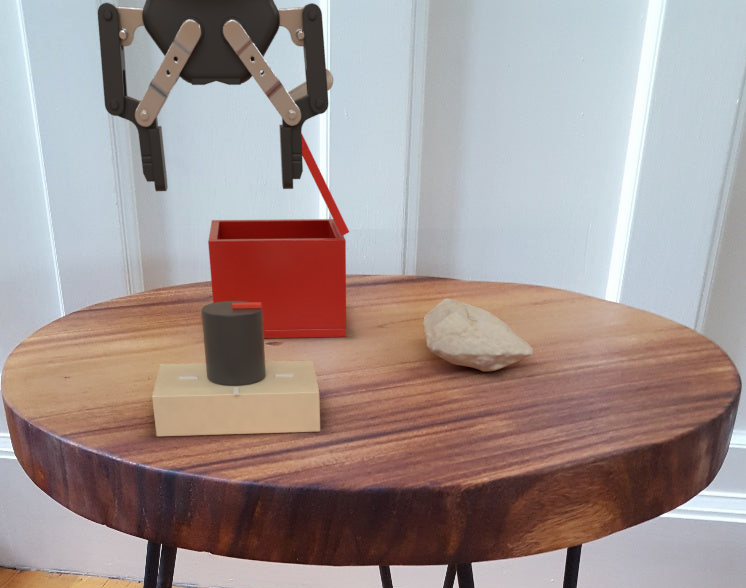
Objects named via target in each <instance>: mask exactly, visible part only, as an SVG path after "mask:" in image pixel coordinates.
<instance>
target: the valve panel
mask: <svg viewBox="0 0 746 588" xmlns="http://www.w3.org/2000/svg"><path fill="white" fill-rule="evenodd" d="M265 370H266V376H265V378H264V379H263V380H261V381H259V382H256V383H252V384H247V385H222V384H217V383H213V382H211V381H209V380H208V378H207V370H206V362H197V363H196V362H194V363H160V364H159V367H158V371H157V374H156V375H157V376H156V379H155V383H154V387H153V391H152V396H151V400H152V409H153V416H154V424H155V425H154V426H155V435H156V437H186V436H188V437H189V436H190V437H191V436H220V435H249V434H250V435H251V434H252V435H253V434H254V435H255V434H283V433H314V432H317V433H318V432H321V406H320V402H321V401H320V388H319V384H318V378H317V375H316V374H317V373H316V370H315V365H314V360H277V361H275V360H274V361H273V360H272V361H265Z"/></svg>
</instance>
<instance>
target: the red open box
mask: <svg viewBox="0 0 746 588" xmlns="http://www.w3.org/2000/svg"><path fill="white" fill-rule="evenodd" d="M207 243H208V256H209V257H208V258H209V267H210V268H209V269H210V282H211V293H212V303H216V302H224V301H244V302H251V303H253V302H261V306H262V314H263V332H264V339H298V338H301V339H302V338H339V337H340V338H341V337H342V338H343V337H344V338H345V337H347V260H346V259H347V251H346V250H347V240H346V238H345V235H343V236H341V234H340V232H339V230H338V228H337V226H336V224H335V221H334V219H333V218H319V219H318V218H316V219H315V218H307V219H306V218H301V219H300V218H299V219H296V218H293V219H212V220H211V223H210V229H209V235H208V241H207Z"/></svg>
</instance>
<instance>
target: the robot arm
mask: <svg viewBox="0 0 746 588" xmlns="http://www.w3.org/2000/svg"><path fill="white" fill-rule="evenodd" d="M97 22H98V23H97V24H98V25H97V26H98V33H99V34H98V36H99V47H100V48H99V49H100V62H101V63H100V64H101V73H102V75H101V76H102V87H103V98H104V99H103V100H104V107H105V110H106V112H107V113H108V114H109V115H111V116H114V117H119V118H121V119H124V120H127V121H129V122H131V123H132V124H133V125H134V126H135V128H136V130H137V135H138V141H139V142H138V143H139V148H140V150H139V151H140V158H141V167H142V174H143V176H144V178H145V181H146V182H148V183H150V182H154V190H155V192H167V191H168V176H167V167H166V166H167V165H166V157H165V147H164V139H163V130H162V129H163V127H162V125H159V123H158V122H159V120H158V116H159V115H160V112H161V111H162V109H163V107H164V105H165V103H166V102H167V100H168V98H169V96H170V94H171V93H172V91H173V90H174V89H175V86H176V84H177V83H178V81H179V79H180V78H181V79H182V80H183V81H185V82H186V83H189V84H191V86H205V85H209V84H211V83H214V82H218V83H221V84H225V85H228V86H241V85H242V84H245V83H246V82H248V81H249V80H251V78H253V79H254V80H255V82H256V83H257V85H258V86H259V88H260V89H261V90H262V92H263V93H264V94H265V96H266V97H267V98H268V100H269V101H270V102H271V104H272V105H273V107H274V108H275V110H276V111H277V113H278V114H279V116H280V117H281V124H279V144H280V145H279V147H280V166H281V168H280V169H281V170H280V171H281V185H282V190H293V189H294V180H301V177H302V175H303V171H304V165H303V164H304V163H303V156H302V135H303V133H302V128H303V125H304V123H305V122H307V120H309V119H311V118H314V117H316V116H319V115H323V114H324V113H326V111H328V108H329V90H328V91H327V77H326V69H327V64H326V52H325V51H326V49H325V38H324V37H325V36H324V26H323V24H324V23H323V13H322V9H321V7H320V6H319V5H318V4H316V3H314V2H313V3H312V2H311V3H307V4H305V5H304V6H299V7H297V6H296V7H285V8H278V7H277V4H276V3H275V1H274V0H145V3H144V5H143V7H134V6H133V7H132V6H120V5H116V4H115V3H112V2H104V3H102V4H100V5H99V7H98V8H97ZM140 27H144V29H145V31H146V32H147V34H148V36H150V38H151V39H152V41H153V43H155V45H156V46H157V48H158V49H159V50H160V52H161V53H162V55H163V56H164V57H163V59H162V61H161V62H160V64H159V66H158V68H157V70H156V72H155V73H154V76H153V77H152V78H151V81H150V83H149V85H148V87H147V89H146V91H145V92H144V95H143V96H142V98H141V100H139V99H136V98H134V97H133V96H129V95H128V85H127V71H126V57H125V56H126V55H125V47H129V46H131V45H132V44H133V43H134V42H135V39H136V33H137V31H138V29H139V28H140ZM280 27H282V28H285V29H286V30H287V31H288V34H289V36H290V39H291V42H292V43H293V45H295V46H297V47H302V49H303V62H304V71H305V81H306V86H307V95H305V96H303V97H301V98H298V99H296V100H294V101H293V99H292V98H291V96H290V95H289V93H288V92H289V91H287V89H286V87H285V86H284V85H283V84H282V81H281V80H280V79H279V78H278V76H277V75H276V73H275V71H274V70H273V69H272V67H271V66H270V65H269V63H268V62H267V61H266V58H264V57H265V55H266V53H267V52H268V50H269V48H270V47H271V44H272V43H273V41H274V39H275V37H276V35H277V34H278V31H279V30H280ZM261 71H262V72H261Z"/></svg>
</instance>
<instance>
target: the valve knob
mask: <svg viewBox="0 0 746 588" xmlns="http://www.w3.org/2000/svg"><path fill="white" fill-rule="evenodd" d="M200 311H201V313H200V314H201V323H202V333H203V334H202V335H203V346H204V347H203V348H204V356H205V357H204V359H205V363H206V370H207V378H208V380H209V381H211V382H213V383H217V384H222V385H247V384H252V383H256V382H259V381H261V380H263V379H264V378H265V376H266V370H265V362H266V355H265V338H264V332H263V314H262V306H261V302H253V303H251V302H244V301H224V302H216V303H213V302H212V303H208V304H205V305H204V306H202V307H201V309H200Z"/></svg>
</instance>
